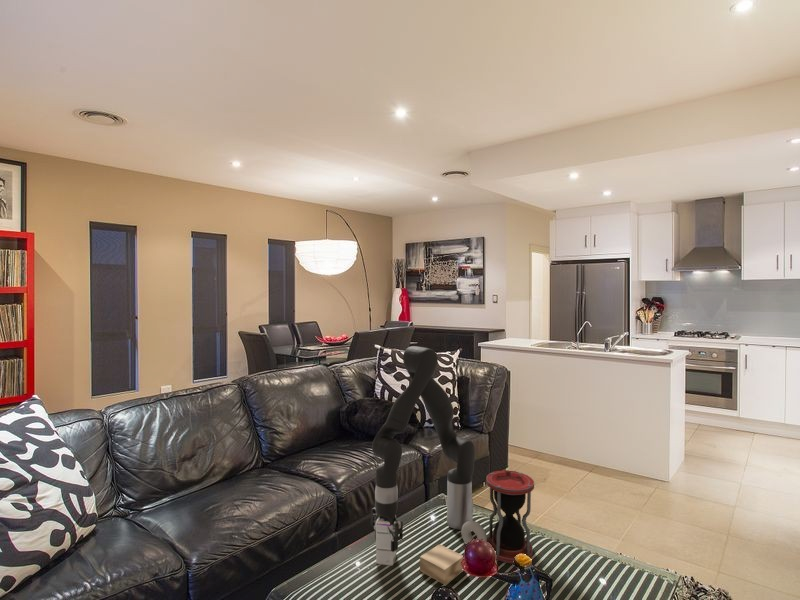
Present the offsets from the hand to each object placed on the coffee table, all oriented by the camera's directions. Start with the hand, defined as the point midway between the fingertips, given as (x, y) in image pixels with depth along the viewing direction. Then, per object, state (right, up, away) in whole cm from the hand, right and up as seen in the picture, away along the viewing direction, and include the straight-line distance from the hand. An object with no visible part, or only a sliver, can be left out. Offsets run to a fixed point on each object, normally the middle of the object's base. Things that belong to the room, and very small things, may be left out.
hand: (386, 545), depth 159 cm
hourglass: (+42, -5, +6) cm, 43 cm away
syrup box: (0, -5, 0) cm, 5 cm away
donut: (+30, -5, +7) cm, 31 cm away
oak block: (+18, -6, -5) cm, 20 cm away
